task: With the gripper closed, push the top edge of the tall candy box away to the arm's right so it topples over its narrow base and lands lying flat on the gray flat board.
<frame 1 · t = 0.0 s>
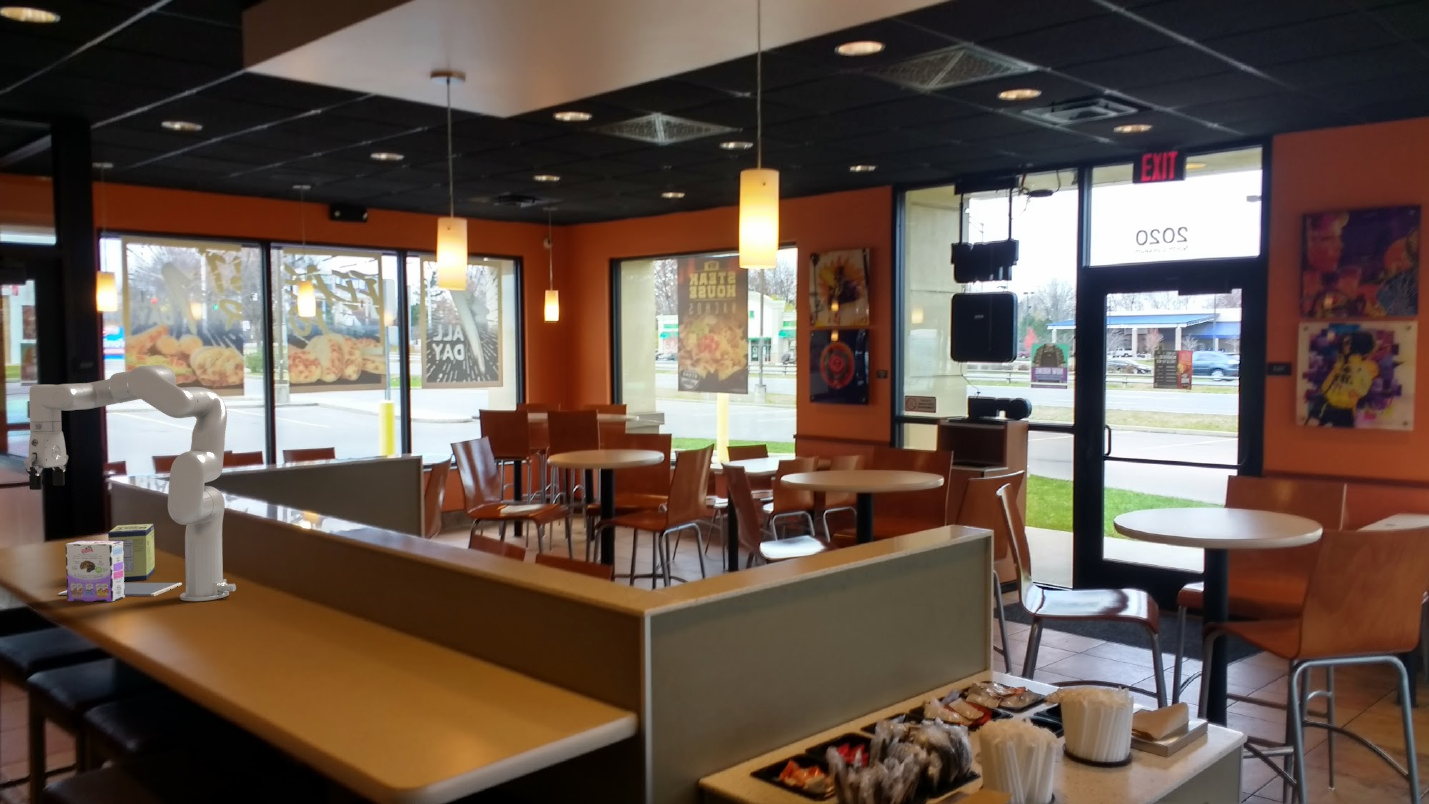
hand: (47, 487, 296), 31 cm above the counter, tool pointing down, fingers open, 9 cm apart
protein box: (132, 577, 324), on the counter
candy box: (96, 600, 293), on the counter
gray flat board: (121, 590, 305), on the counter
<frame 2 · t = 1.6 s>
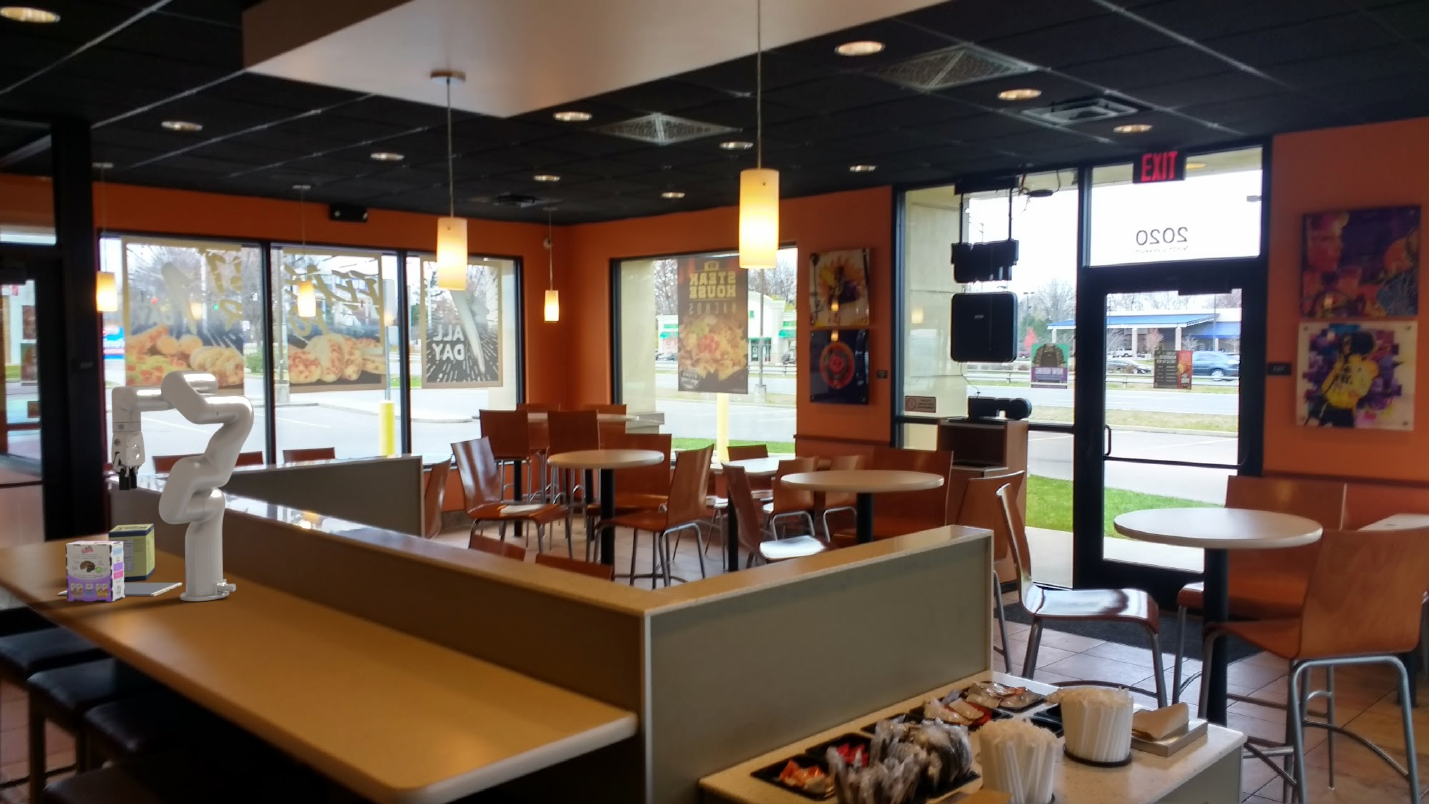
hand: (128, 488, 310), 29 cm above the counter, tool pointing down, fingers closed
nothing on the counter moved.
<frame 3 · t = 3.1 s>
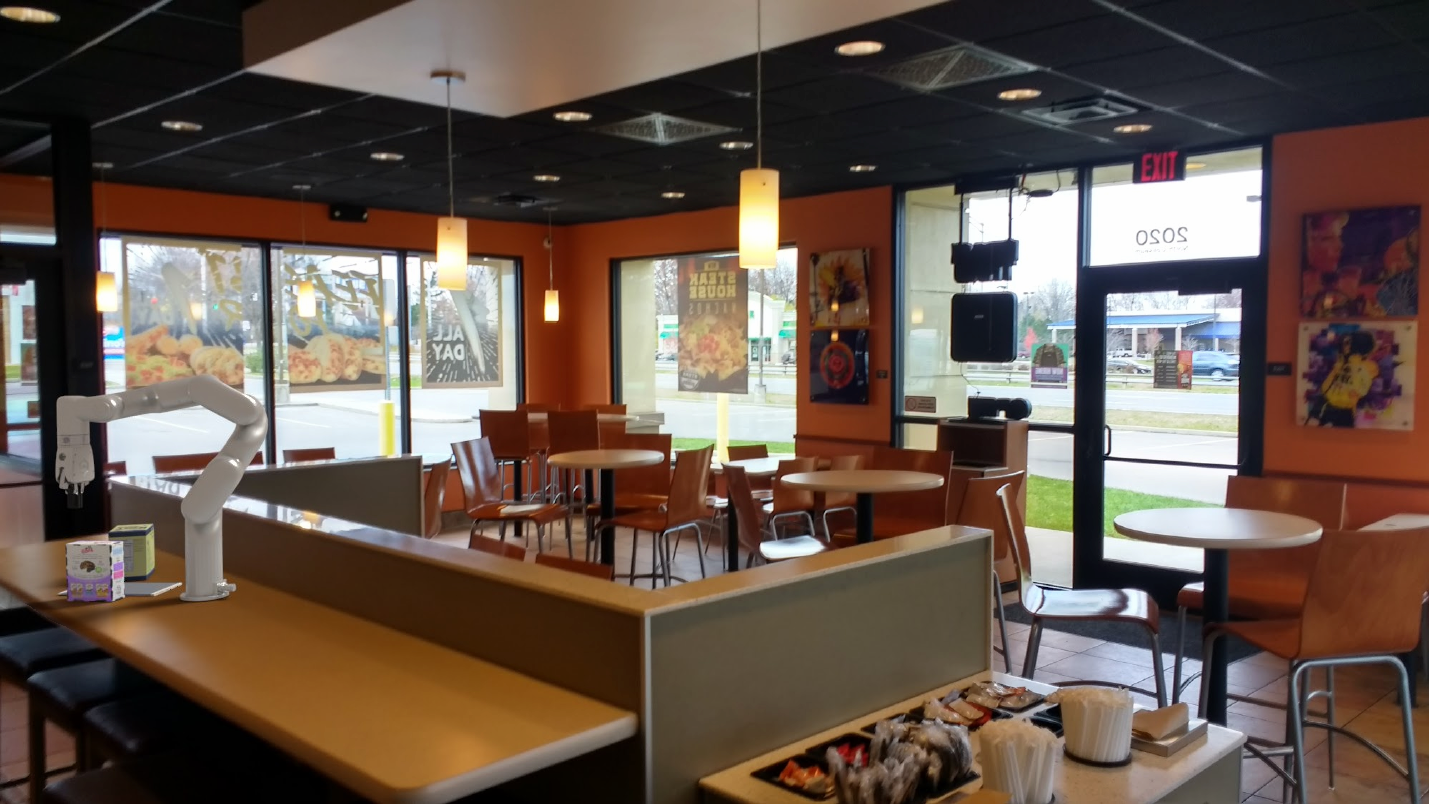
hand: (74, 507, 284), 27 cm above the counter, tool pointing down, fingers closed
nothing on the counter moved.
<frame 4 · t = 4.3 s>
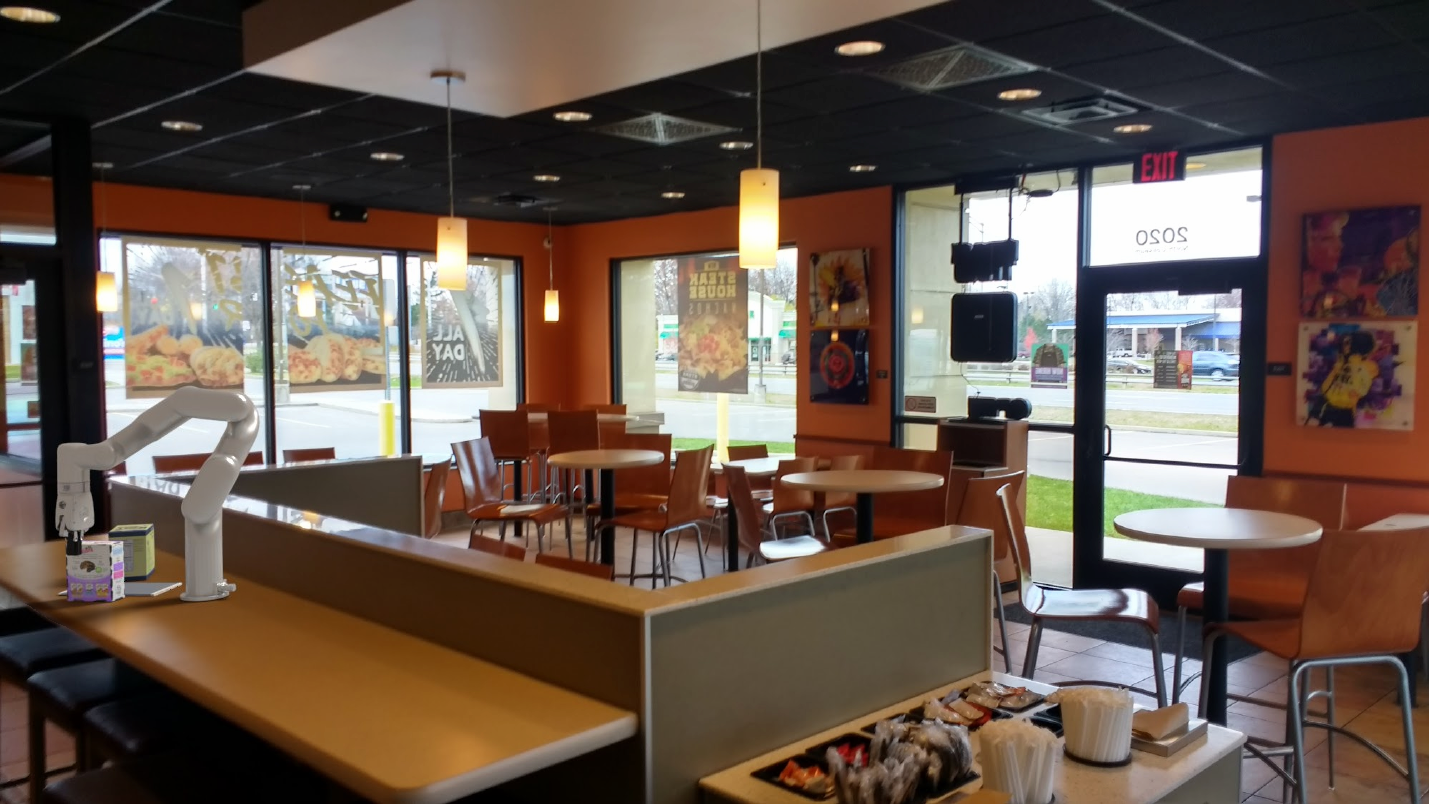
hand: (74, 555, 284), 14 cm above the counter, tool pointing down, fingers closed
nothing on the counter moved.
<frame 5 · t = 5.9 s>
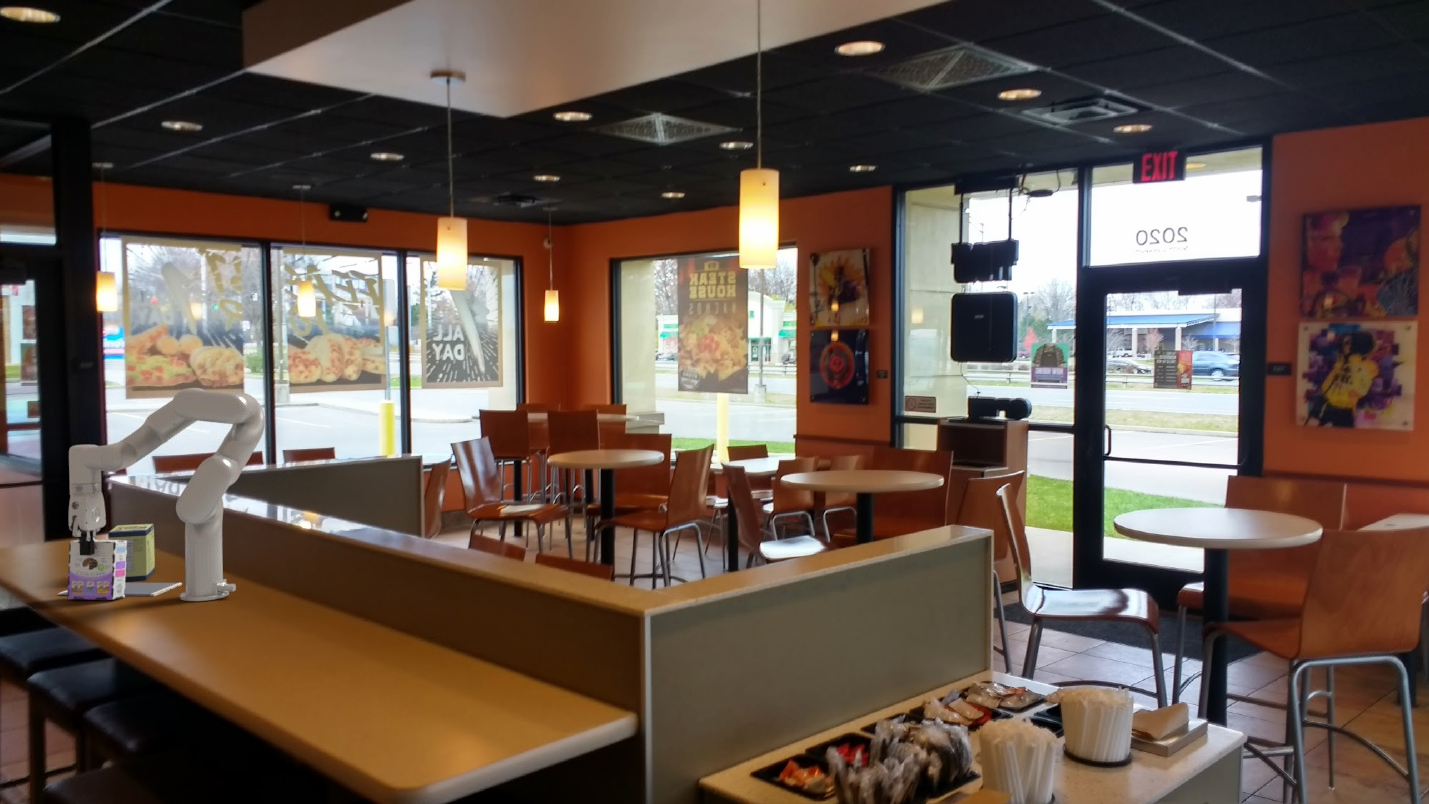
hand: (87, 554, 289), 13 cm above the counter, tool pointing down, fingers closed
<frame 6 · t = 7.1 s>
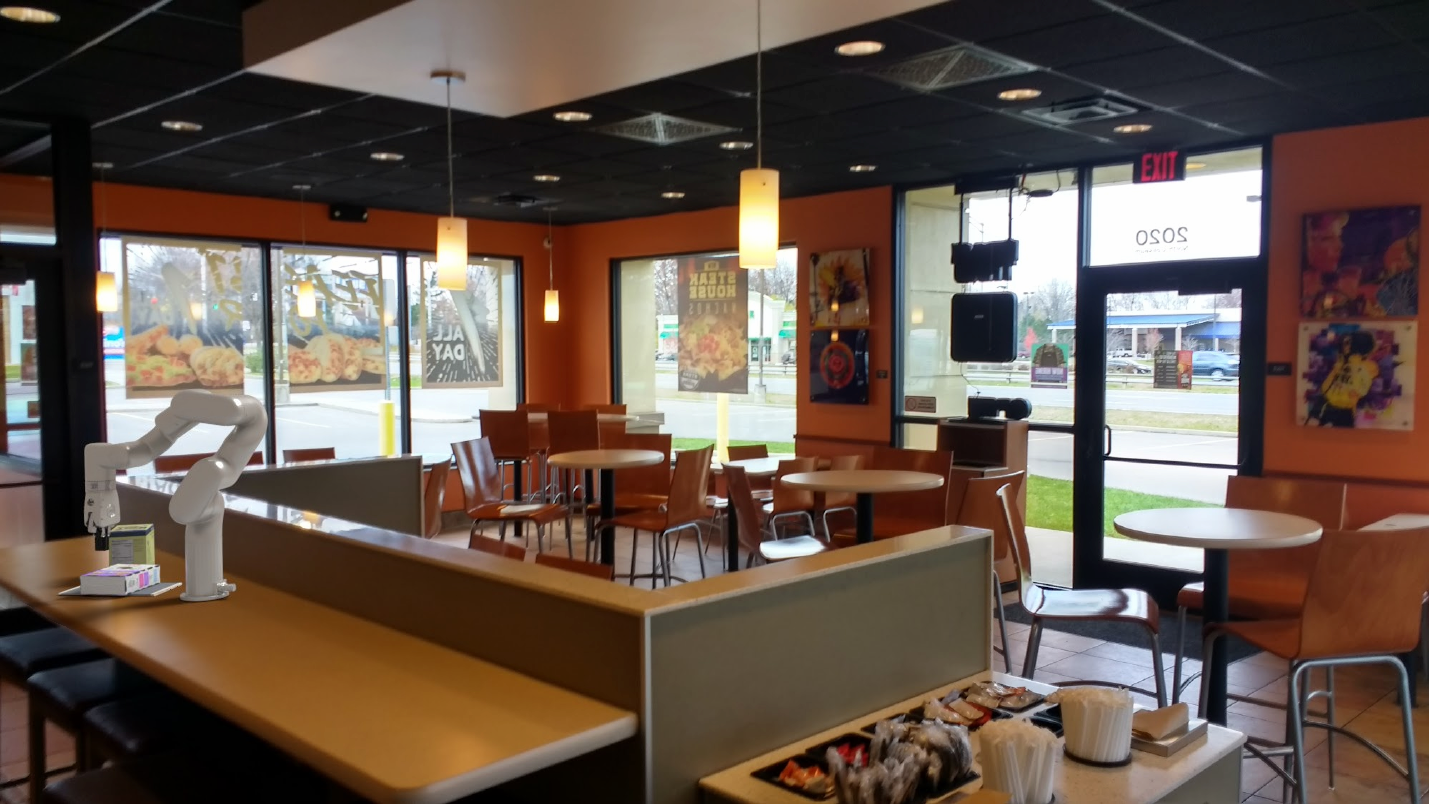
hand: (102, 550, 296), 13 cm above the counter, tool pointing down, fingers closed
candy box: (101, 585, 295), point 3 cm above the counter, touching gray flat board
everything else where it was.
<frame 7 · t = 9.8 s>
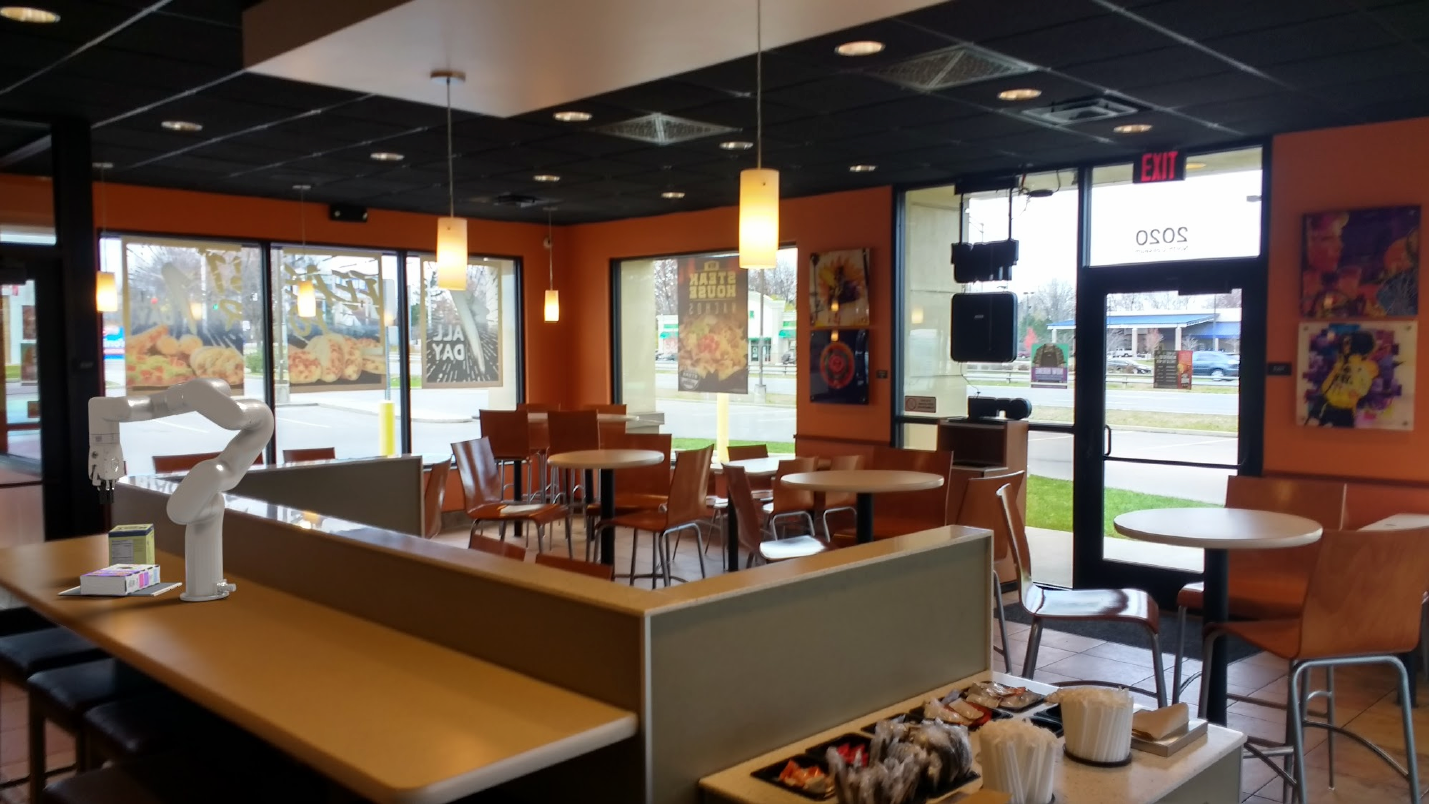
hand: (106, 503, 298), 26 cm above the counter, tool pointing down, fingers closed
nothing on the counter moved.
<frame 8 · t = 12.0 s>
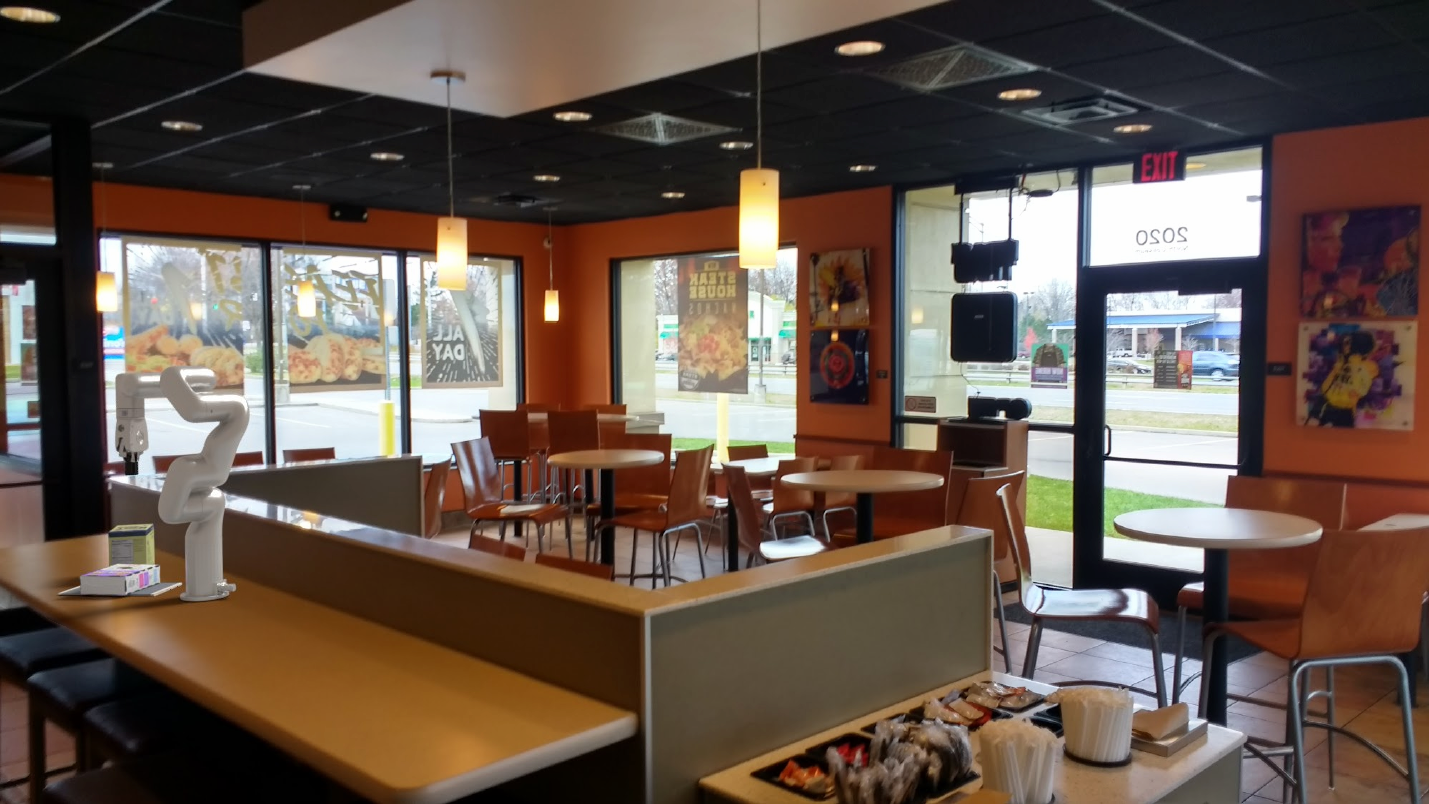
hand: (131, 475, 312), 33 cm above the counter, tool pointing down, fingers closed
nothing on the counter moved.
at the end: candy box tilted 89°; candy box inside the target area on the gray flat board (7.0 cm from its centre), point 3.4 cm above the gray flat board's base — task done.
